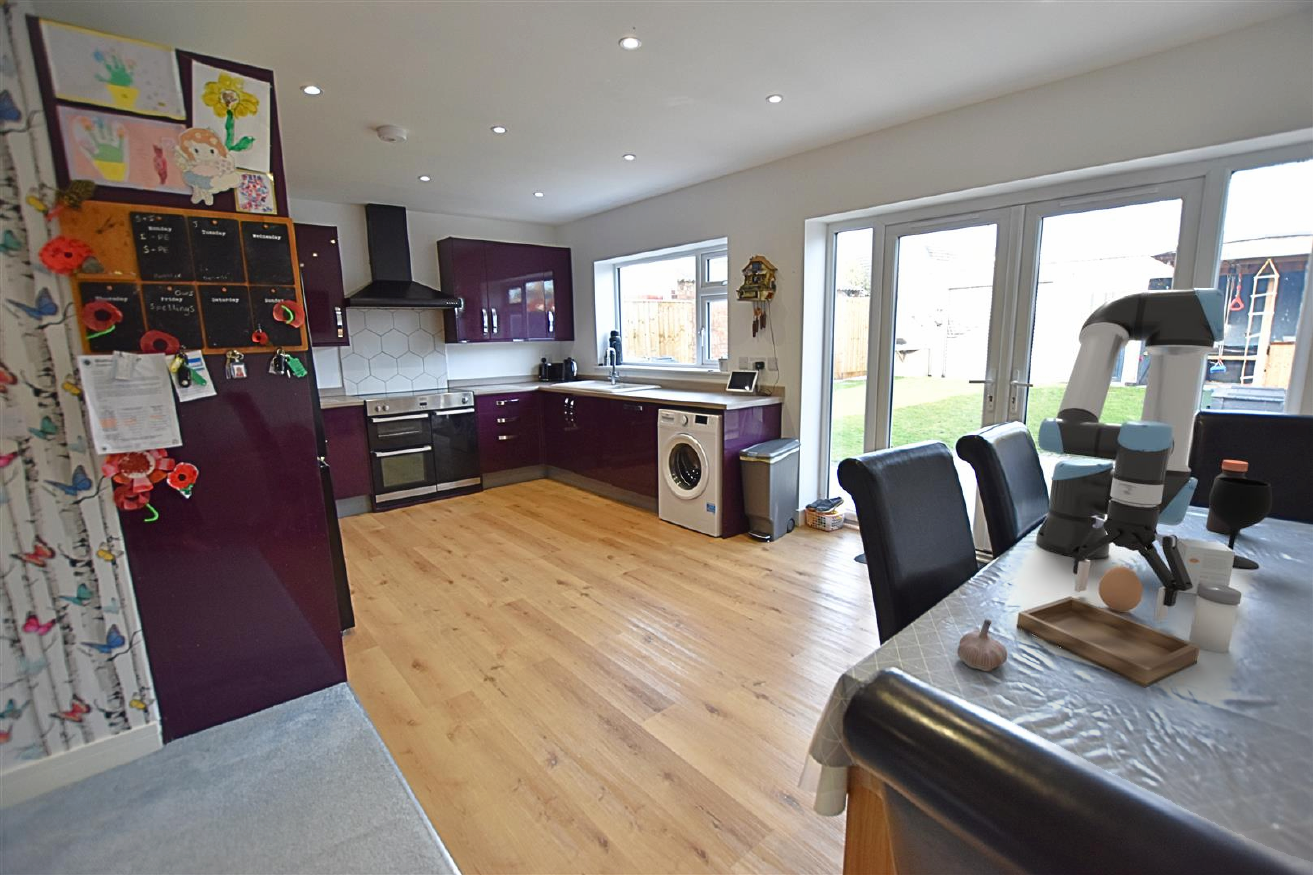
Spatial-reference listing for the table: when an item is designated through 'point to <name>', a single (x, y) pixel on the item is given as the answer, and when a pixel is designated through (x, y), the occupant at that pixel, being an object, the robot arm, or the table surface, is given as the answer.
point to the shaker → (1214, 616)
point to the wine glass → (1240, 508)
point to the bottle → (1229, 470)
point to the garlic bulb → (981, 649)
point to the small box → (1206, 562)
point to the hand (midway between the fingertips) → (1117, 604)
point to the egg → (1120, 589)
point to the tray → (1109, 640)
